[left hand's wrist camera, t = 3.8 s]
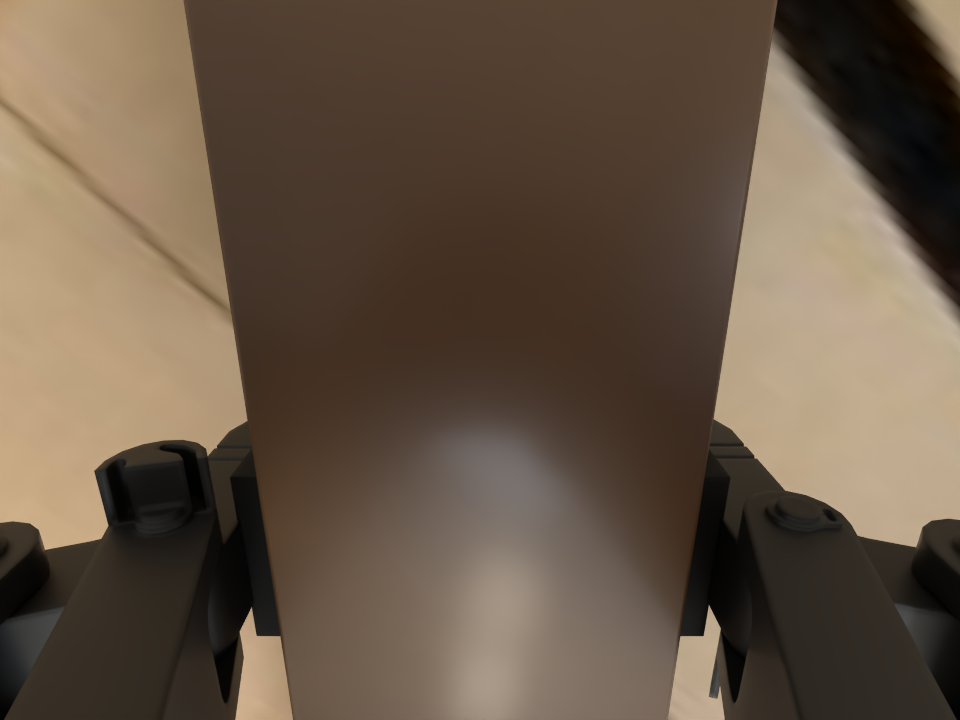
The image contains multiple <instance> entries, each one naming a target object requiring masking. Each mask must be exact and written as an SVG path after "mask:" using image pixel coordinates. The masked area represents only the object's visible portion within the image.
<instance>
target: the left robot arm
mask: <svg viewBox="0 0 960 720" xmlns="http://www.w3.org/2000/svg"><path fill="white" fill-rule="evenodd" d="M94 472H95V475H96V479H97V483H98V487H99V491H100V494H101V498H102V502H103V506H104V510H105V514H106V517H107V521H108V525H109V526H108V528H107V530H106V532H105V534H104V535H103V537H102V539H99V540H95V541H91V542H85V543H80V544H75V545H70V546H64V547H59V548H54V549H48V550H45V549H44V545H43V542H42V539H41V536H40V533H39V530H38V529H37V528H35V527H34V526H32V525H31V524H29V523H21V522H5V523H0V720H235V717H236V710H237V703H238V695H239V688H240V681H241V673H242V666H243V659H244V656H243V649H242V642H241V637H240V630H241V627H242V625H243V623H244V621H245V619H246V617H247V615H248V613H249V611H250V609H251V607H252V610H253V616H254V622H255V628H256V634H257V636H280V629H279V622H278V616H277V609H276V603H275V596H274V590H273V583H272V576H271V570H270V563H269V557H268V550H267V544H266V537H265V530H264V524H263V517H262V511H261V504H260V498H259V491H258V485H257V478H256V471H255V465H254V458H253V452H252V445H251V439H250V432H249V425H248V421H247V422H245V423H243V424H242V425H240V426H238V427H236V428H235V429H233V430H231V431H230V432H229V433H228V434H227V435H226V436H225V437H224V438H223V440H222V441H221V442H220V443H219V444H218V445H217V449H214V450H213V451H212V452H211V453H210V454H209V456H208V457H207V451H206V448H204V447H203V446H201V445H200V444H198V443H195V442H190V441H185V440H168V441H159V442H154V443H148V444H143V445H140V446H137V447H134V448H131V449H128V450H125V451H122V452H120V453H119V454H117V455H115V456H113V457H111V458H109V459H107V460H106V461H104V462H103V463H102V464H101V465H100V466H99V467H98V468H97V469H96V470H95V471H94ZM709 606H710V608H711V610H712V612H713V614H714V616H715V618H716V620H717V622H718V624H719V626H720V628H721V632H720V637H719V642H718V648H717V653H716V659H715V664H714V670H713V675H712V681H711V687H710V694H709V697H712V698H717V697H718V692H719V687H721V694H722V701H723V709H724V716H725V720H960V520H954V519H943V520H935V521H931V522H929V523H928V524H927V525H925V526H924V527H923V528H922V531H921V534H920V537H919V541H918V544H917V547H911V546H905V545H900V544H895V543H889V542H884V541H879V540H873V539H868V538H864V537H860V536H857V534H856V532H855V531H854V529H853V527H852V525H851V524H850V523H849V522H848V520H847V519H846V518H845V517H844V516H843V515H842V514H841V513H840V512H838V511H837V510H835V509H834V508H832V507H831V506H829V505H827V504H826V503H824V502H821V501H819V500H816V499H814V498H811V497H809V496H806V495H802V494H798V493H793V492H789V491H785V490H784V489H783V488H782V487H781V485H780V484H779V483H778V482H777V481H776V480H775V479H774V478H773V476H772V475H771V474H770V473H769V472H768V471H767V470H766V468H765V467H764V466H763V465H762V464H761V463H760V462H759V461H758V459H754V455H753V454H752V453H751V451H750V450H749V449H748V448H747V447H744V444H743V442H742V441H741V440H740V439H739V438H738V437H737V436H736V434H735V433H734V432H733V431H732V430H731V429H730V428H728V427H726V426H724V425H722V424H721V423H719V422H717V421H715V420H714V419H713V425H712V431H711V438H710V445H709V451H708V458H707V464H706V471H705V477H704V484H703V490H702V497H701V503H700V510H699V516H698V523H697V530H696V536H695V543H694V549H693V556H692V562H691V569H690V575H689V582H688V588H687V595H686V602H685V608H684V615H683V621H682V628H681V634H680V636H704V630H705V625H706V619H707V613H708V607H709Z"/></svg>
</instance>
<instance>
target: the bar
mask: <svg viewBox="0 0 960 720" xmlns="http://www.w3.org/2000/svg"><path fill="white" fill-rule="evenodd" d="M184 5H185V12H186V18H187V25H188V31H189V38H190V45H191V51H192V58H193V64H194V71H195V77H196V84H197V90H198V97H199V104H200V110H201V117H202V123H203V130H204V136H205V143H206V150H207V156H208V163H209V169H210V176H211V182H212V189H213V196H214V202H215V209H216V215H217V222H218V228H219V235H220V242H221V248H222V255H223V261H224V268H225V274H226V281H227V287H228V294H229V301H230V307H231V314H232V320H233V327H234V333H235V340H236V347H237V353H238V360H239V366H240V373H241V379H242V386H243V393H244V399H245V406H246V412H247V419H248V425H249V432H250V439H251V445H252V452H253V458H254V465H255V471H256V478H257V485H258V491H259V498H260V504H261V511H262V517H263V524H264V530H265V537H266V544H267V550H268V557H269V563H270V570H271V576H272V583H273V590H274V596H275V603H276V609H277V616H278V622H279V629H280V636H281V642H282V649H283V655H284V662H285V668H286V675H287V682H288V688H289V695H290V701H291V708H292V714H293V720H667V719H668V713H669V706H670V700H671V693H672V687H673V680H674V674H675V667H676V660H677V654H678V647H679V641H680V634H681V628H682V621H683V615H684V608H685V602H686V595H687V588H688V582H689V575H690V569H691V562H692V556H693V549H694V543H695V536H696V530H697V523H698V516H699V510H700V503H701V497H702V490H703V484H704V477H705V471H706V464H707V458H708V451H709V445H710V438H711V431H712V425H713V418H714V412H715V405H716V399H717V392H718V386H719V379H720V373H721V366H722V359H723V353H724V346H725V340H726V333H727V327H728V320H729V314H730V307H731V301H732V294H733V288H734V281H735V274H736V268H737V261H738V255H739V248H740V242H741V235H742V229H743V222H744V216H745V209H746V202H747V196H748V189H749V183H750V176H751V170H752V163H753V157H754V150H755V144H756V137H757V130H758V124H759V117H760V111H761V104H762V98H763V91H764V85H765V78H766V72H767V65H768V59H769V52H770V45H771V39H772V32H773V26H774V19H775V13H776V6H777V0H184Z"/></svg>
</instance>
